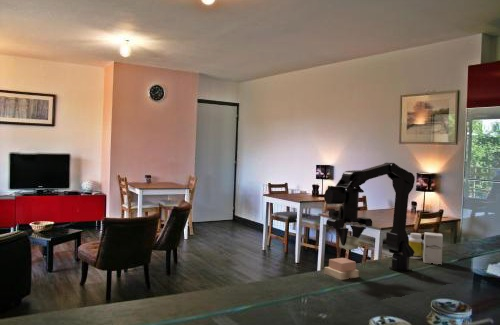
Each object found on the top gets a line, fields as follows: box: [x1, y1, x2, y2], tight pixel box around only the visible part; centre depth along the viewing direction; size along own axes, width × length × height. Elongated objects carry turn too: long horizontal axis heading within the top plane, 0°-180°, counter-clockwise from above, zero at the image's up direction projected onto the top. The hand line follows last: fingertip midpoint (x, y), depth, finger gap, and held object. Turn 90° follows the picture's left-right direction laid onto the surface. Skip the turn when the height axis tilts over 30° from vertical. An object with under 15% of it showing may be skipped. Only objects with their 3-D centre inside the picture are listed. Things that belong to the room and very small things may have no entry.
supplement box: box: [422, 231, 444, 266], centre depth 183 cm, size 7×7×13 cm
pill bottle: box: [409, 232, 424, 260], centre depth 191 cm, size 6×6×11 cm
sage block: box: [338, 235, 360, 250], centre depth 158 cm, size 5×5×4 cm
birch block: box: [323, 266, 360, 281], centre depth 158 cm, size 9×9×3 cm
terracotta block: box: [328, 257, 357, 272], centre depth 158 cm, size 7×7×3 cm
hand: (348, 245), depth 158 cm, fingers closed on sage block, 5 cm apart
